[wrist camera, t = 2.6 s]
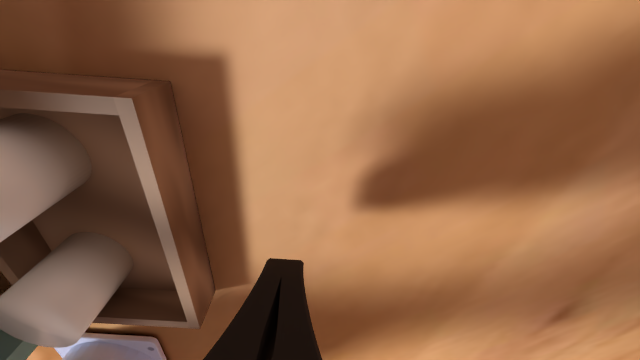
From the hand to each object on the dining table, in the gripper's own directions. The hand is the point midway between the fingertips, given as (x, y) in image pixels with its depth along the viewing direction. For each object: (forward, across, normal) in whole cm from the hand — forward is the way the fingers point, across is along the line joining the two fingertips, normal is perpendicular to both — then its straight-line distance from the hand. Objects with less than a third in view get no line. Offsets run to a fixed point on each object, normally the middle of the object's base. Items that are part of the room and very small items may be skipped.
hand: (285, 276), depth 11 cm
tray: (+4, +10, 0) cm, 10 cm away
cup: (+3, +11, +3) cm, 12 cm away
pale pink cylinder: (+3, +11, -3) cm, 12 cm away
